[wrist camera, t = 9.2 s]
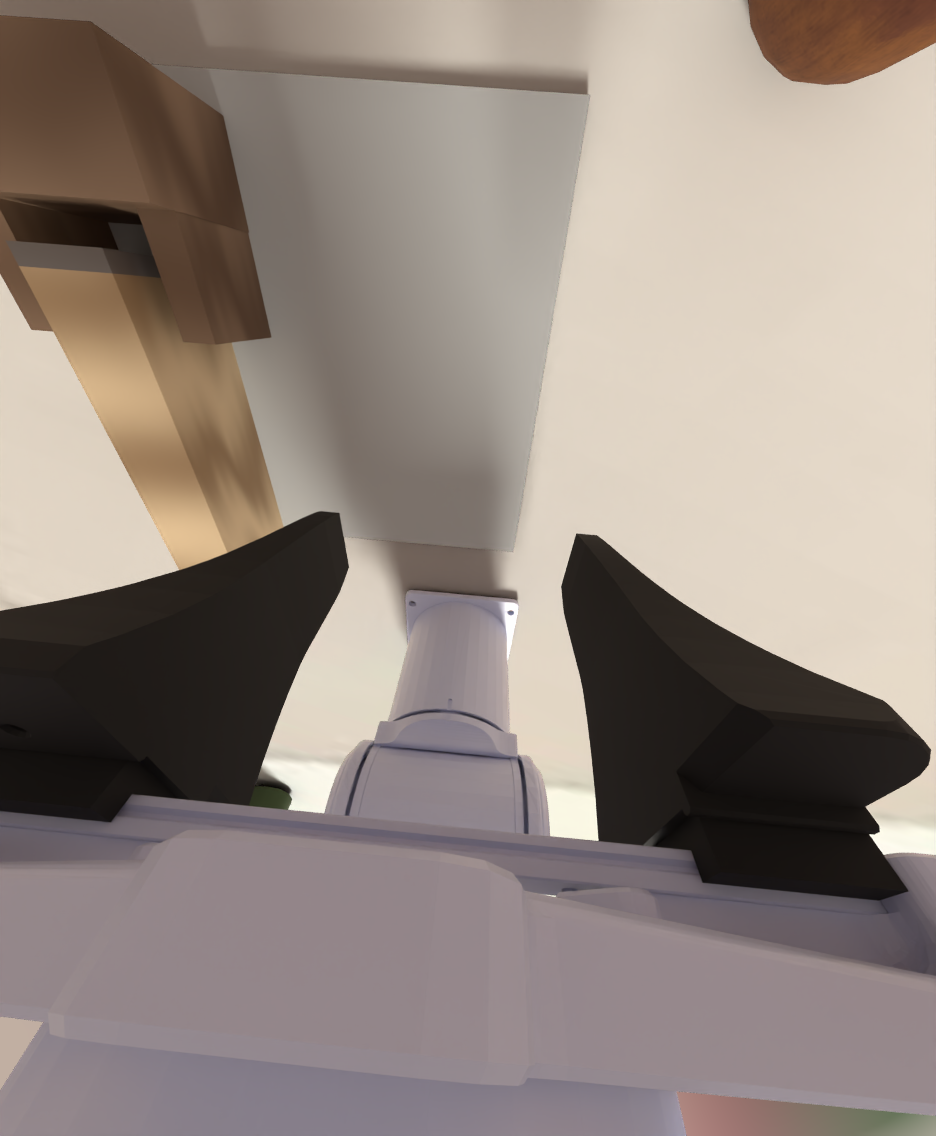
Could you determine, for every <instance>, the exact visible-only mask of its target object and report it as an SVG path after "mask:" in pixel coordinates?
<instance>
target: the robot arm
mask: <svg viewBox="0 0 936 1136" xmlns="http://www.w3.org/2000/svg"><path fill="white" fill-rule="evenodd" d="M348 568H349V565H348V559H347V553H346V548H345V542H344V536H343V530H342V524H341V519H340V513H336V512H325V511H318V512H315V513H313V514H310V515H308V516H306V517H303V518H301V519H299V520H297V521H295V522H293V523H291V524H289V525H287V526H285V527H283V528H280V529H278V530H276V531H274V532H272V533H270V534H268V535H266V536H264V537H262V538H260V539H257V540H255V541H253V542H250V543H248V544H246V545H244V546H241V547H239V548H237V549H235V550H232V551H230V552H228V553H225V554H223V555H220V556H218V557H215V558H213V559H210V560H207V561H205V562H202V563H199V564H196V565H193V566H190V567H187V568H185V569H181V570H178V571H175V572H172V573H168V574H165V575H161V576H158V577H154V578H151V579H147V580H144V581H141V582H137V583H134V584H130V585H126V586H122V587H118V588H114V589H110V590H105V591H101V592H97V593H92V594H88V595H83V596H78V597H74V598H69V599H64V600H59V601H54V602H49V603H43V604H37V605H31V606H26V607H20V608H14V609H8V610H3V611H0V1016H1V1017H9V1018H16V1019H24V1020H32V1021H40V1022H43V1024H42V1025H41V1027H40V1028H39V1030H38V1032H37V1033H36V1035H35V1036H34V1038H33V1039H32V1041H31V1043H30V1044H29V1046H28V1047H27V1049H26V1051H25V1052H24V1054H23V1055H22V1057H21V1058H20V1060H19V1062H18V1063H17V1065H16V1066H15V1068H14V1069H13V1071H12V1073H11V1074H10V1076H9V1078H8V1079H7V1080H6V1082H5V1084H4V1085H3V1087H2V1088H1V1090H0V1136H686V1131H685V1127H684V1123H683V1118H682V1114H681V1109H680V1105H679V1101H678V1096H677V1092H676V1091H679V1092H690V1093H701V1094H711V1095H721V1096H732V1097H743V1098H753V1099H764V1100H774V1101H785V1102H796V1103H807V1104H817V1105H828V1106H838V1107H848V1108H859V1109H870V1110H880V1111H891V1112H901V1113H912V1114H922V1115H933V1116H936V855H928V854H918V853H894V854H886V855H883V854H882V852H881V851H880V849H879V848H878V847H877V845H876V844H875V842H874V841H873V839H872V838H871V837H870V835H869V834H876V833H878V832H880V830H879V825H878V824H877V822H876V821H875V820H874V818H873V817H872V815H871V814H870V813H869V811H868V810H867V809H866V807H865V806H867V805H869V804H871V803H873V802H875V801H876V800H878V799H880V798H882V797H884V796H886V795H888V794H889V793H891V792H893V791H895V790H897V789H899V788H900V787H902V786H904V785H906V784H908V783H909V782H911V781H912V780H914V779H915V778H917V777H918V776H920V775H921V773H922V772H923V771H924V770H925V769H926V767H927V766H928V765H929V761H930V754H931V749H930V748H929V747H928V745H927V744H926V743H925V741H924V740H923V739H922V738H921V737H920V736H919V735H918V734H917V733H916V732H915V731H914V730H913V729H912V728H911V727H910V726H909V725H908V724H907V723H906V722H905V721H904V720H903V719H902V718H901V717H900V716H899V715H898V714H897V713H896V712H895V711H894V710H893V709H892V708H891V707H890V706H889V705H888V704H887V703H886V702H884V701H883V700H881V699H878V698H876V697H873V696H871V695H868V694H866V693H863V692H861V691H858V690H856V689H853V688H851V687H848V686H846V685H843V684H841V683H838V682H836V681H833V680H831V679H828V678H826V677H823V676H821V675H818V674H816V673H814V672H811V671H809V670H807V669H805V668H802V667H800V666H798V665H796V664H794V663H791V662H789V661H787V660H785V659H783V658H781V657H778V656H776V655H774V654H772V653H770V652H768V651H766V650H764V649H762V648H760V647H758V646H756V645H754V644H752V643H750V642H748V641H746V640H744V639H742V638H741V637H739V636H737V635H735V634H733V633H731V632H730V631H728V630H726V629H724V628H722V627H720V626H719V625H717V624H715V623H714V622H712V621H710V620H708V619H707V618H705V617H704V616H702V615H700V614H699V613H697V612H696V611H694V610H693V609H691V608H689V607H688V606H686V605H685V604H683V603H682V602H680V601H679V600H677V599H676V598H674V597H673V596H672V595H670V594H669V593H668V592H666V591H665V590H664V589H662V588H661V587H660V586H658V585H657V584H656V583H654V582H653V581H652V580H650V579H649V578H648V577H647V576H645V575H644V574H643V573H642V572H640V571H639V570H638V569H637V568H636V567H634V566H633V565H632V564H631V563H630V562H628V561H627V560H626V559H625V558H624V557H623V556H621V555H620V554H619V553H618V552H617V551H616V550H615V549H613V548H612V547H611V546H610V545H609V544H607V543H606V542H605V541H604V540H602V539H601V538H600V537H598V536H597V535H586V534H576V537H575V540H574V544H573V547H572V551H571V554H570V558H569V561H568V565H567V568H566V572H565V575H564V579H563V582H562V586H561V588H562V599H563V608H564V615H565V619H566V623H567V627H568V631H569V635H570V639H571V643H572V647H573V651H574V655H575V658H576V662H577V666H578V670H579V674H580V678H581V683H582V688H583V694H584V701H585V708H586V715H587V722H588V730H589V739H590V747H591V755H592V766H593V776H594V786H595V797H596V811H597V824H598V838H599V841H592V840H582V839H572V838H562V837H552V836H550V826H549V812H548V803H547V796H546V790H545V785H544V781H543V778H542V775H541V773H540V771H539V770H538V768H537V767H536V766H535V765H534V763H533V761H532V759H531V758H530V757H529V756H526V755H518V753H517V735H516V734H512V733H510V719H509V688H508V658H509V653H510V648H511V643H512V639H513V634H514V629H515V624H516V619H517V614H518V609H519V605H518V602H517V601H516V600H514V599H506V598H495V597H484V596H473V595H462V594H451V593H441V592H430V591H419V590H409V591H408V592H407V593H406V596H405V602H406V620H407V638H408V647H407V651H406V655H405V659H404V662H403V666H402V670H401V674H400V678H399V681H398V685H397V689H396V693H395V697H394V700H393V704H392V708H391V712H390V716H389V719H388V721H381V722H379V726H378V729H377V733H376V736H375V740H374V741H372V740H363V741H361V742H360V743H359V744H358V745H357V746H356V747H355V749H353V750H352V751H351V752H350V753H349V754H348V755H347V756H346V758H345V759H344V761H343V763H342V764H341V766H340V768H339V771H338V773H337V775H336V778H335V780H334V783H333V786H332V789H331V792H330V795H329V798H328V801H327V805H326V809H325V813H324V814H323V813H313V812H304V811H294V810H284V809H274V808H264V807H254V806H249V804H250V801H251V797H252V794H253V791H254V788H255V785H256V782H257V779H258V775H259V772H260V769H261V766H262V763H263V760H264V757H265V754H266V752H267V749H268V746H269V743H270V740H271V737H272V735H273V732H274V729H275V726H276V723H277V721H278V718H279V716H280V713H281V710H282V708H283V705H284V703H285V700H286V698H287V695H288V692H289V690H290V688H291V685H292V683H293V681H294V678H295V676H296V673H297V671H298V669H299V666H300V664H301V662H302V660H303V658H304V656H305V654H306V652H307V650H308V648H309V646H310V645H311V643H312V641H313V639H314V638H315V636H316V634H317V632H318V631H319V629H320V627H321V625H322V623H323V622H324V620H325V618H326V616H327V615H328V613H329V611H330V609H331V607H332V606H333V604H334V602H335V600H336V598H337V596H338V594H339V592H340V590H341V587H342V585H343V582H344V579H345V577H346V574H347V571H348ZM411 601H414V602H415V603H412V602H411ZM509 610H512V612H509ZM547 895H556V897H552V896H547Z"/></svg>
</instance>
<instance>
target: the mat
mask: <svg viewBox="0 0 936 1136" xmlns="http://www.w3.org/2000/svg"><path fill="white" fill-rule="evenodd" d="M151 65H153V66H154V67H155V68H157V69H158V70H160V71H161V72H162V73H164V74H165V75H167V76H168V77H170V78H171V79H172V80H174V81H175V82H177V83H178V84H179V85H181V86H182V87H184V88H185V89H186V90H188V91H189V92H191V93H192V94H194V95H195V96H196V97H198V98H199V99H201V100H202V101H203V102H205V103H206V104H208V105H209V106H210V107H212V108H213V109H215V110H216V111H218V112H219V113H220V114H222V115H223V116H224V121H225V125H226V130H227V134H228V139H229V143H230V148H231V152H232V157H233V161H234V166H235V170H236V175H237V179H238V184H239V188H240V193H241V197H242V202H243V206H244V211H245V215H246V220H247V224H248V229H249V233H248V234H249V239H250V243H251V248H252V252H253V257H254V261H255V265H256V270H257V274H258V279H259V283H260V288H261V292H262V297H263V301H264V306H265V310H266V315H267V319H268V324H269V328H270V332H271V337H272V338H264V339H256V340H248V341H241V342H233V343H232V346H233V349H234V353H235V356H236V360H237V363H238V367H239V370H240V374H241V378H242V381H243V385H244V388H245V392H246V395H247V399H248V402H249V406H250V409H251V413H252V416H253V420H254V424H255V427H256V431H257V434H258V438H259V441H260V445H261V448H262V452H263V455H264V459H265V462H266V466H267V469H268V473H269V477H270V480H271V484H272V487H273V491H274V494H275V498H276V501H277V505H278V508H279V512H280V515H281V519H282V523H283V526H284V527H285V526H287V525H289V524H291V523H293V522H295V521H297V520H299V519H301V518H303V517H306V516H308V515H310V514H313V513H315V512H318V511H325V512H336V513H340V519H341V524H342V530H343V536H344V537H349V538H360V539H371V540H382V541H393V542H405V543H416V544H427V545H438V546H450V547H461V548H472V549H483V550H495V551H506V552H513V551H514V545H515V539H516V533H517V527H518V522H519V516H520V510H521V504H522V498H523V492H524V486H525V480H526V474H527V468H528V462H529V456H530V450H531V444H532V438H533V433H534V427H535V421H536V415H537V409H538V403H539V397H540V391H541V385H542V379H543V373H544V367H545V361H546V355H547V349H548V344H549V338H550V332H551V326H552V320H553V314H554V308H555V302H556V296H557V290H558V284H559V278H560V272H561V266H562V260H563V255H564V249H565V243H566V237H567V231H568V225H569V219H570V213H571V207H572V201H573V195H574V189H575V183H576V177H577V171H578V165H579V160H580V154H581V148H582V142H583V136H584V130H585V124H586V118H587V112H588V106H589V100H590V95H585V94H571V93H557V92H543V91H528V90H514V89H500V88H485V87H471V86H457V85H443V84H428V83H414V82H400V81H385V80H371V79H357V78H343V77H328V76H314V75H300V74H285V73H271V72H257V71H243V70H228V69H214V68H200V67H186V66H171V65H157V64H151ZM108 224H109V226H110V229H111V231H112V234H113V237H114V239H115V242H116V244H117V247H118V249H119V251H126V252H132V253H138V254H145V255H151V256H153V254H152V251H151V248H150V245H149V242H148V239H147V237H146V234H145V231H144V228H143V225H136V224H123V223H110V222H108Z"/></svg>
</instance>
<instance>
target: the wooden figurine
mask: <svg viewBox="0 0 936 1136" xmlns="http://www.w3.org/2000/svg"><path fill="white" fill-rule="evenodd" d="M748 3H749V14H750V24H751V28H752V31H753V33H754V35H755V38H756V40H757V42H758V44H759V47H760V49H761V51H762V54H763V56H764V57H765V58H766V59H767V60H768V61H769V62H770V63H771V64H772V65H773V66H774V67H775V68H776V69H777V70H778V71H779V72H780V73H781V74H782V75H783V76H784V77H786V78H788V79H790V80H792V81H797V82H806V83H815V84H823V85H829V84H846V83H850V82H852V81H855V80H858V79H861V78H864V77H866V76H869V75H872V74H875V73H877V72H880V71H882V70H884V69H886V68H888V67H889V66H891V65H893V64H895V63H897V62H899V61H901V60H903V59H905V58H907V57H909V56H911V55H913V54H915V53H917V52H919V51H920V50H922V49H924V48H926V47H928V46H930V45H932V44H934V43H936V0H748Z"/></svg>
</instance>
